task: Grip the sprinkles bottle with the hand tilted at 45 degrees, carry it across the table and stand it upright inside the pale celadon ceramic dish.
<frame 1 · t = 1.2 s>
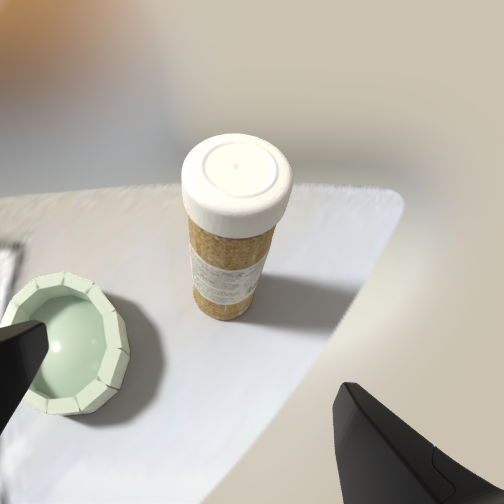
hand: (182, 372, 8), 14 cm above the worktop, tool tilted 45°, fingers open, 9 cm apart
dish: (66, 348, 20), on the worktop
sprinkles bottle: (223, 294, 24), on the worktop
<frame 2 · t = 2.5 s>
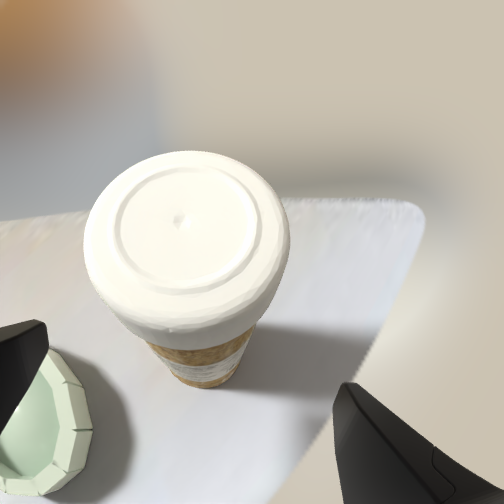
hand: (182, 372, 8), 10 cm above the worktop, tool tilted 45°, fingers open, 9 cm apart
dish: (22, 415, 14), on the worktop
sprinkles bottle: (202, 352, 18), on the worktop
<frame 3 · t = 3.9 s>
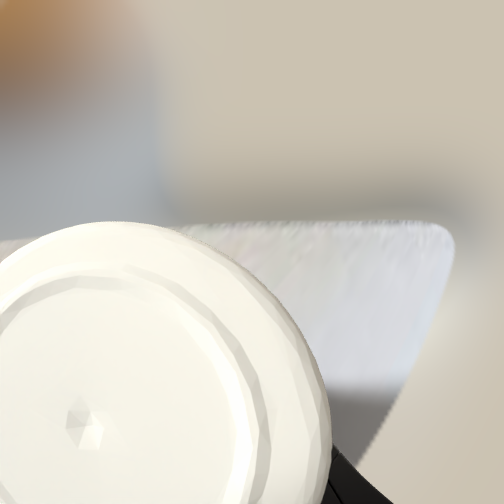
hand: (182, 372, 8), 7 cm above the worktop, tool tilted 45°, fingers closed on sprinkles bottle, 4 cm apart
sprinkles bottle: (192, 418, 14), on the worktop, touching gripper
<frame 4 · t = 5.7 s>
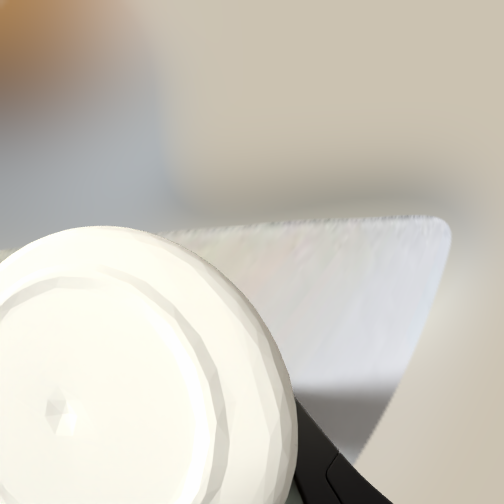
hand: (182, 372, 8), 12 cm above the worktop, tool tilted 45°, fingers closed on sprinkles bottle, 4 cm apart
sprinkles bottle: (203, 419, 14), point 5 cm above the worktop, touching gripper
when the fingers open (9 cm above the worktop, at t = 7.3 s): sprinkles bottle moves 1 cm, resting on dish.
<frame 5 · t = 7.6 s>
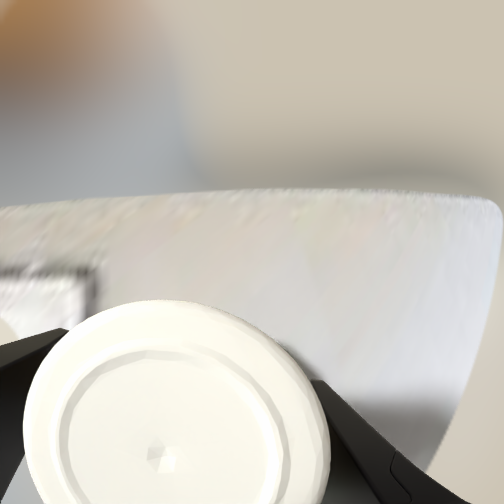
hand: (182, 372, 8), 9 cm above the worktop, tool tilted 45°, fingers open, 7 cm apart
sprinkles bottle: (201, 421, 15), resting on dish
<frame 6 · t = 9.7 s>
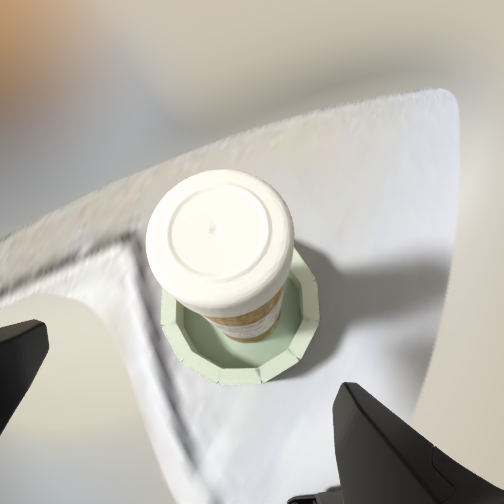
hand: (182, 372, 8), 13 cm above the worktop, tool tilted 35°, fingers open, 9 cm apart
dish: (241, 311, 22), on the worktop
sprinkles bottle: (247, 312, 22), resting on dish
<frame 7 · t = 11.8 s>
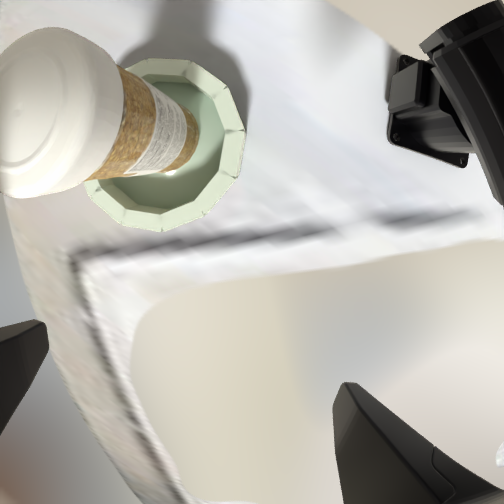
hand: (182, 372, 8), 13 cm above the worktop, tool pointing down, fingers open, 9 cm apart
dish: (164, 144, 19), on the worktop
sprinkles bottle: (166, 137, 19), resting on dish
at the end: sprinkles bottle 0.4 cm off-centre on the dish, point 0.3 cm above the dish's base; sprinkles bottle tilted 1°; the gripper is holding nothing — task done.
